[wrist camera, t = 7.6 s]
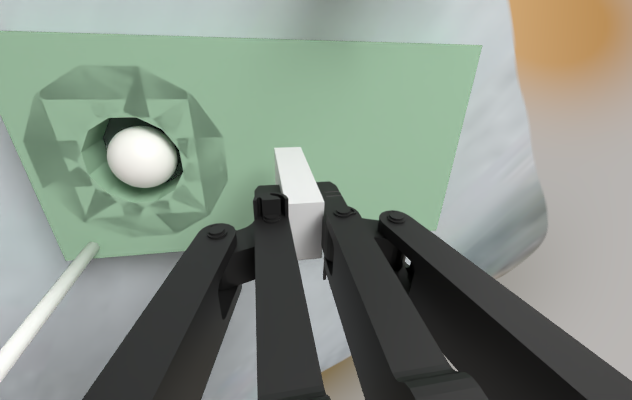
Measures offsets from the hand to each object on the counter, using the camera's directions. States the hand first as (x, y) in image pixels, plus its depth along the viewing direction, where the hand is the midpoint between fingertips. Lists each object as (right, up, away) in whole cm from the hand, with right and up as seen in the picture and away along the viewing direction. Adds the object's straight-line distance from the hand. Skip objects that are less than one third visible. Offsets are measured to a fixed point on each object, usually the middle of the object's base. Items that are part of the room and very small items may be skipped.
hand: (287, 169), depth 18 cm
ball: (-10, +1, +2) cm, 10 cm away
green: (-2, +2, +5) cm, 6 cm away
